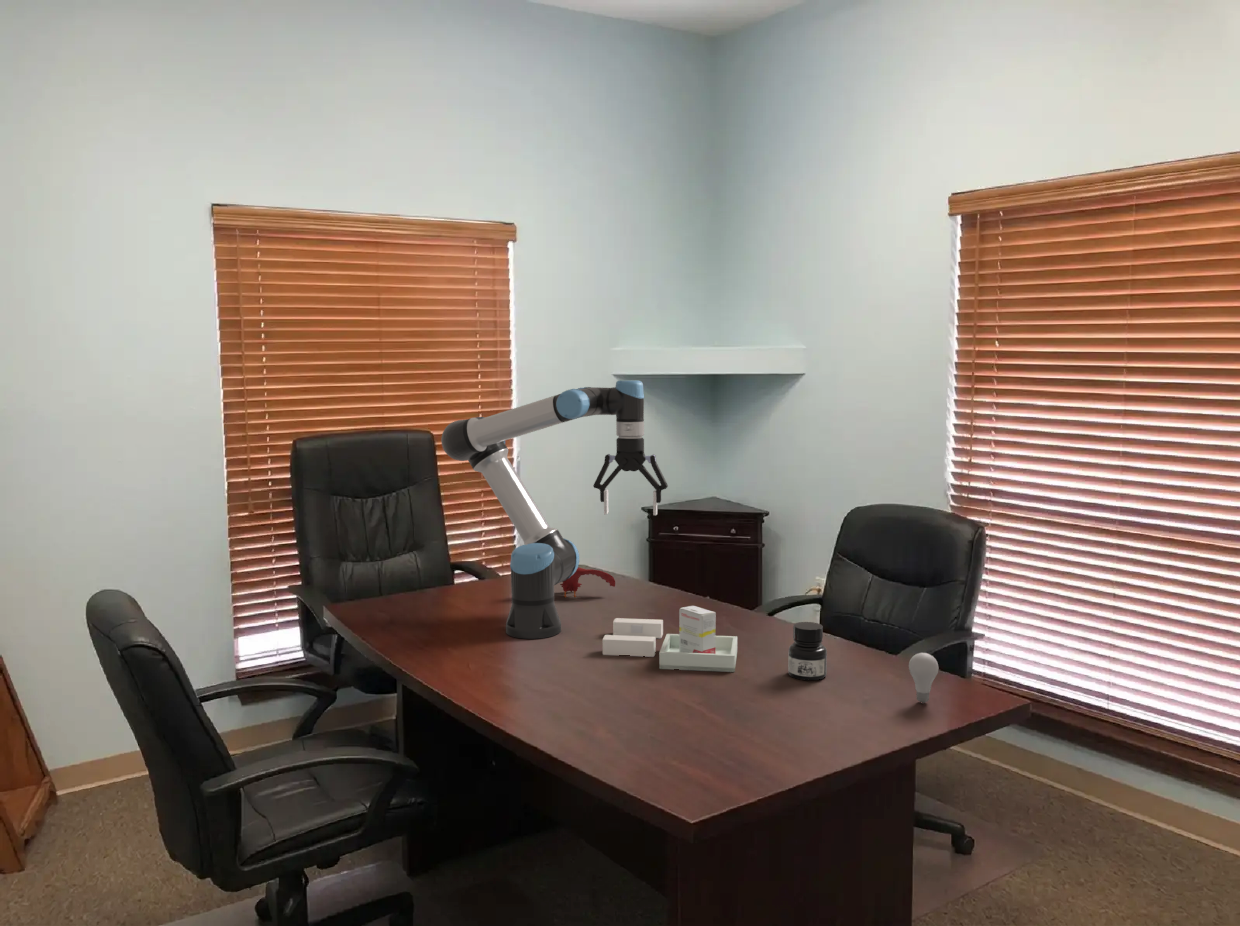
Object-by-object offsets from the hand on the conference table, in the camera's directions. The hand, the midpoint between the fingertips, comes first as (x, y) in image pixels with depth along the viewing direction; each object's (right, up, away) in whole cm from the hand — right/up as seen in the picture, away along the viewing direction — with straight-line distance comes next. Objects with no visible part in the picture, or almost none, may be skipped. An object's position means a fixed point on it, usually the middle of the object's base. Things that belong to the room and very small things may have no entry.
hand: (630, 514), depth 266 cm
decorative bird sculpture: (-19, -28, +38) cm, 51 cm away
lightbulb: (+62, -38, -57) cm, 92 cm away
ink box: (+16, -34, -26) cm, 46 cm away
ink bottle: (+41, -36, -38) cm, 67 cm away
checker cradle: (+1, -33, -13) cm, 36 cm away
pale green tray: (+17, -35, -26) cm, 47 cm away
